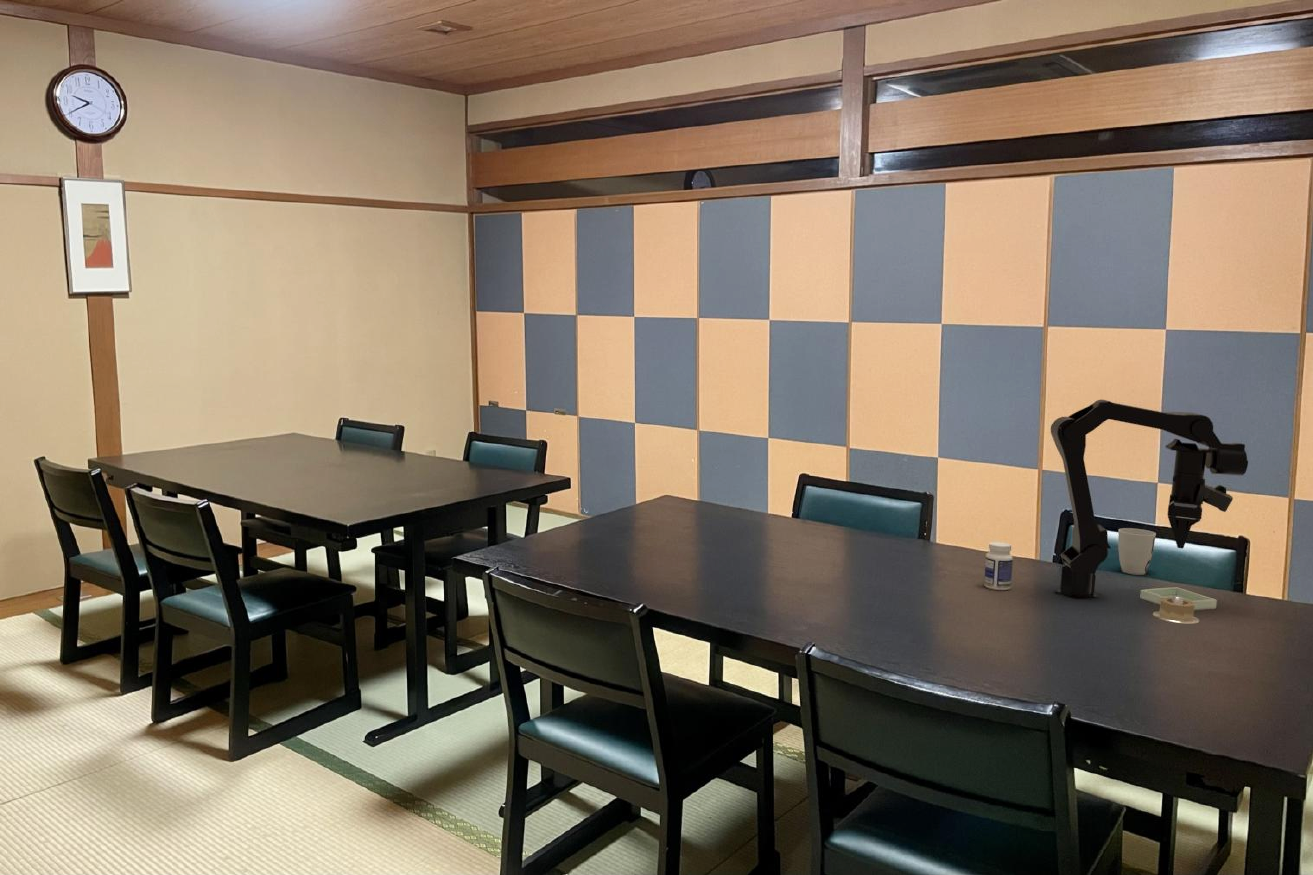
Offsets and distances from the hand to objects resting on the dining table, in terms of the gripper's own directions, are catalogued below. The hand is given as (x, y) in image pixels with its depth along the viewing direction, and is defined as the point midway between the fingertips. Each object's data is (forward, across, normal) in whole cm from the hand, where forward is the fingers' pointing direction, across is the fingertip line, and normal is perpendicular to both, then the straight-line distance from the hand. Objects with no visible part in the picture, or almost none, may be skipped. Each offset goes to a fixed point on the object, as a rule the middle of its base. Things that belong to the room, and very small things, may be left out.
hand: (1180, 544), depth 210 cm
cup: (+13, +25, +9) cm, 30 cm away
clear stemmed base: (+13, -13, -1) cm, 19 cm away
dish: (+13, -1, -1) cm, 13 cm away
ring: (+13, -13, -1) cm, 18 cm away
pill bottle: (+14, -10, +35) cm, 39 cm away
